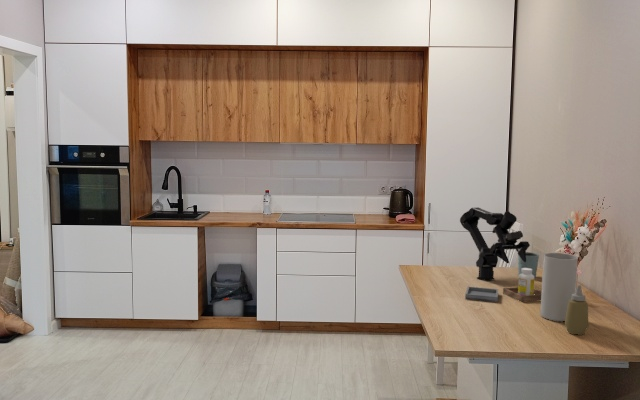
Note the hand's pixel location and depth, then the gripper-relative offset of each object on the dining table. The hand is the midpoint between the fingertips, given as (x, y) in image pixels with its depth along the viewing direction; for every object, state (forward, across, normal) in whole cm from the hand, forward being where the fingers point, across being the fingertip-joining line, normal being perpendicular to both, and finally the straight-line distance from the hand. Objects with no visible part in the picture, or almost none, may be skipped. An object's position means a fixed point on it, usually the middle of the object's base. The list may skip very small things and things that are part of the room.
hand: (516, 262), depth 271 cm
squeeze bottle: (+49, -13, -27) cm, 58 cm away
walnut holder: (+16, 0, +4) cm, 16 cm away
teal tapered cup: (-7, +24, +27) cm, 37 cm away
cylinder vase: (+36, -7, -15) cm, 40 cm away
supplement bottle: (+16, 0, +5) cm, 16 cm away
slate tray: (+12, -20, +8) cm, 24 cm away
